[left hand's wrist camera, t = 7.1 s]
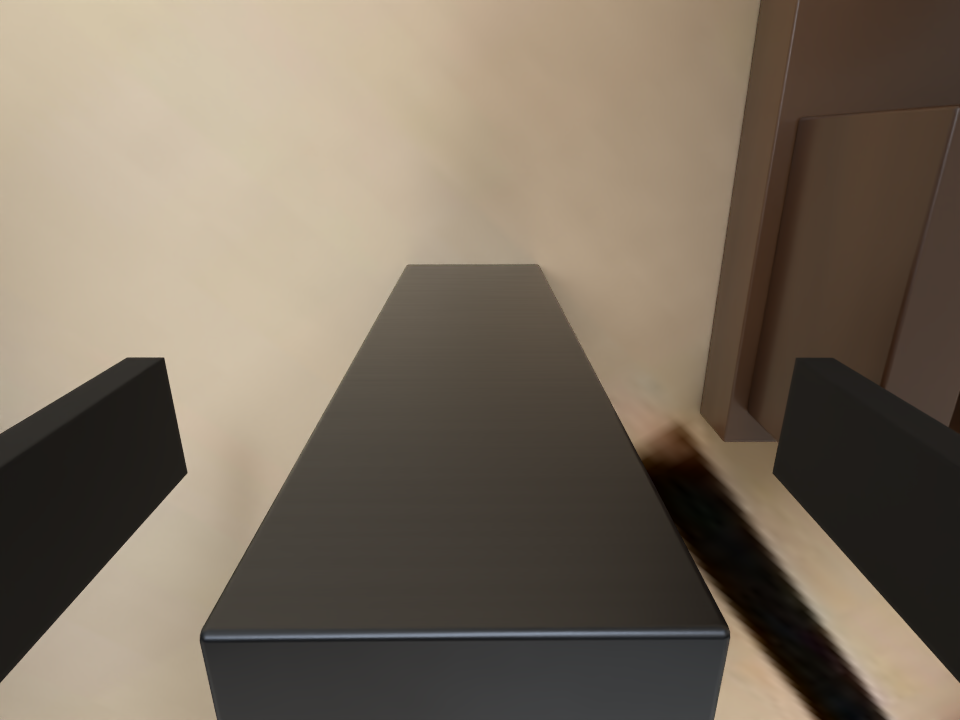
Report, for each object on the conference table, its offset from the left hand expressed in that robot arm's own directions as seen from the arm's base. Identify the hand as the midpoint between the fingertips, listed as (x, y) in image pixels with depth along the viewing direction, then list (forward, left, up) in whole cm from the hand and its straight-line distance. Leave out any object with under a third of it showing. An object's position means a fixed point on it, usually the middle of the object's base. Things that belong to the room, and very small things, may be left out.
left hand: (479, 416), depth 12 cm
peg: (0, 0, -6) cm, 6 cm away
